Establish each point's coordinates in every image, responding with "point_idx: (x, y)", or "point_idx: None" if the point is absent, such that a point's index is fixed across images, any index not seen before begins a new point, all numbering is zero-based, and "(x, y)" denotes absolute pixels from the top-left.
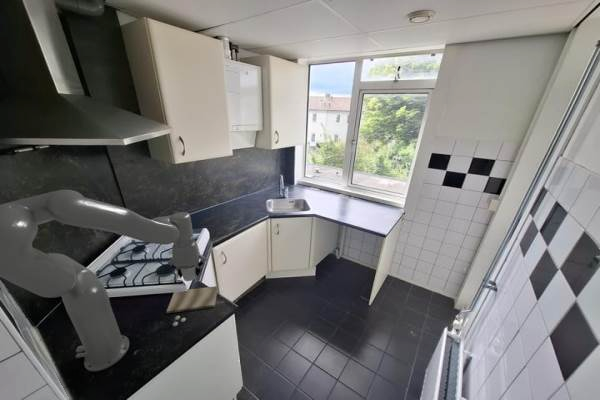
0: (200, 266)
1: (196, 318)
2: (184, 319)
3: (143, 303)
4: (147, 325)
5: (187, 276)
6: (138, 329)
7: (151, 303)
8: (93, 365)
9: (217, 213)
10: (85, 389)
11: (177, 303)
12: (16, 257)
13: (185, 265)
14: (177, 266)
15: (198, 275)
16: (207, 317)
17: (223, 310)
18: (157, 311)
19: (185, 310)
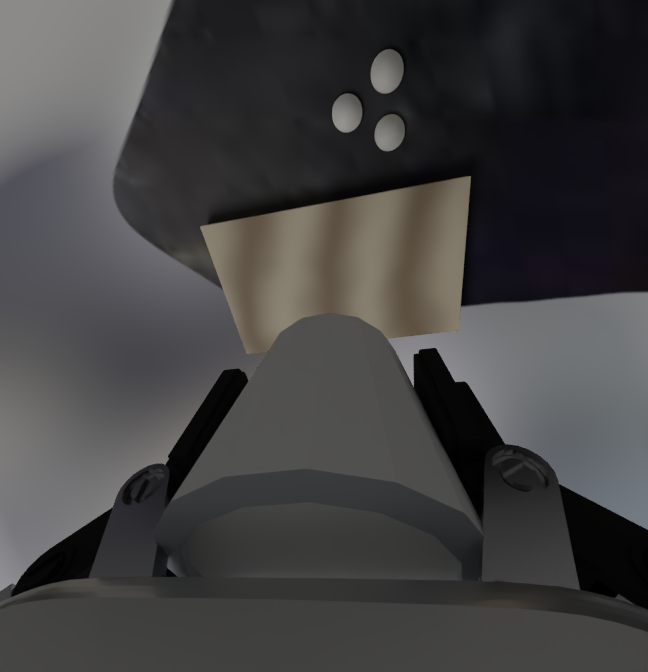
0: (123, 499)
1: (270, 129)
2: (339, 115)
3: (617, 257)
4: (573, 60)
5: (316, 344)
6: (635, 15)
7: (570, 256)
8: None
9: None
10: None
11: (418, 240)
12: None
13: (282, 643)
14: (609, 635)
15: (227, 374)
16: (208, 137)
17: (145, 195)
18: (525, 192)
19: (358, 196)
